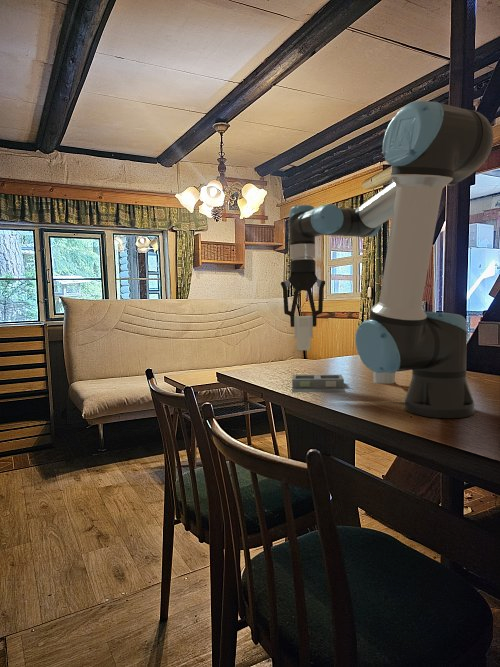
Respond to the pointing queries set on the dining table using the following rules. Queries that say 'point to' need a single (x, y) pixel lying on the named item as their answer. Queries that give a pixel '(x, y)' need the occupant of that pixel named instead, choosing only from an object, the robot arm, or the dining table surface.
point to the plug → (303, 333)
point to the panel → (318, 383)
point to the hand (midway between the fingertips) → (303, 337)
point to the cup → (383, 378)
